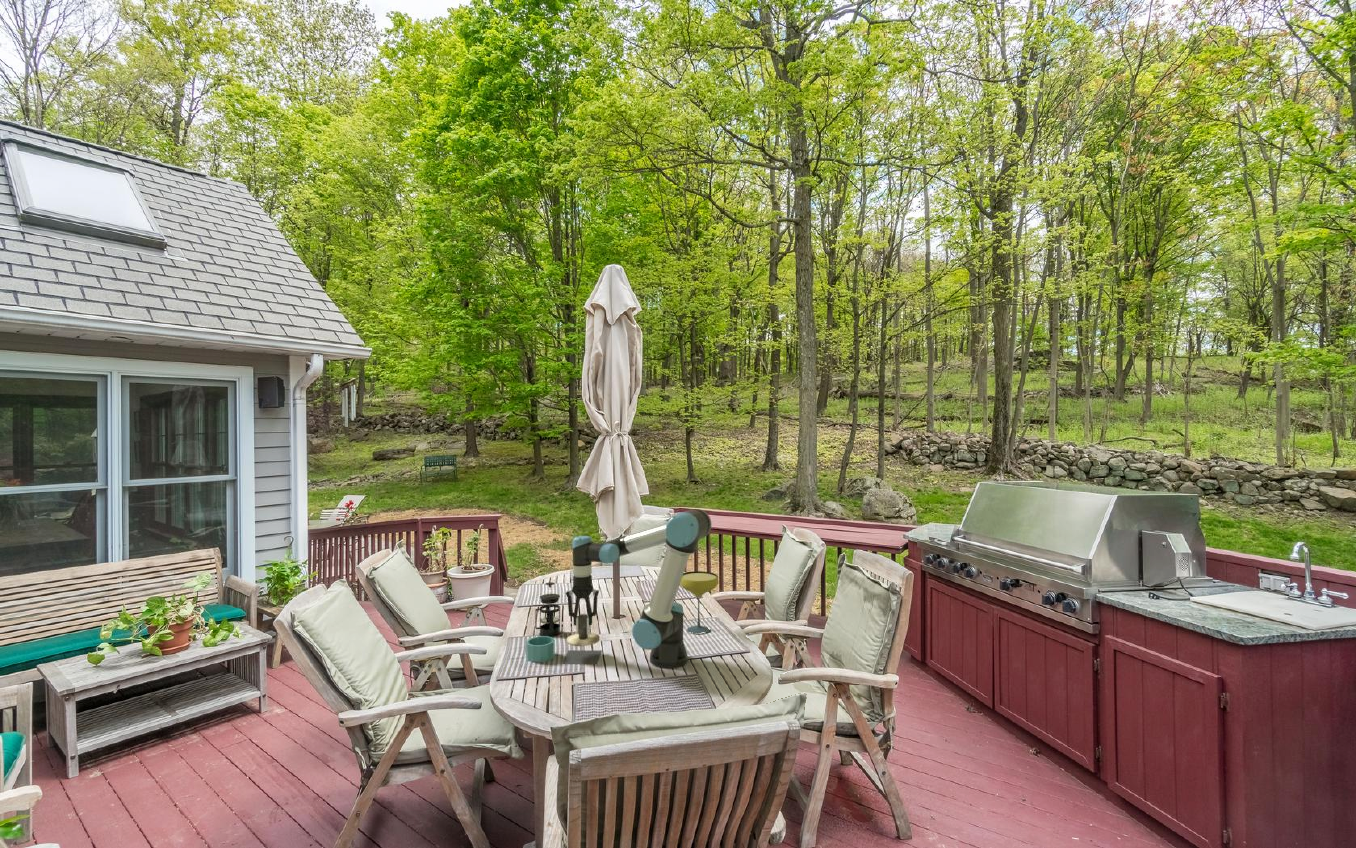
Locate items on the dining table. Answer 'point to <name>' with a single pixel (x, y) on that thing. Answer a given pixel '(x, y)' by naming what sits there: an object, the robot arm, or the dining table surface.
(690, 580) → the cocktail glass
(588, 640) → the lid
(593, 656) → the mat
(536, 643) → the bowl
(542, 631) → the french press
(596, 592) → the robot arm
